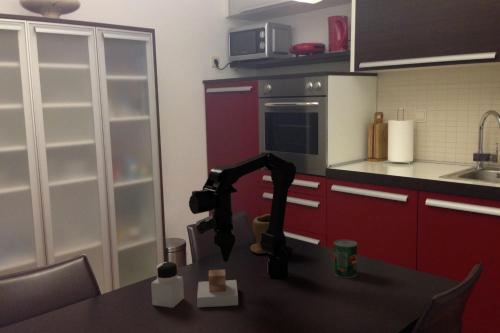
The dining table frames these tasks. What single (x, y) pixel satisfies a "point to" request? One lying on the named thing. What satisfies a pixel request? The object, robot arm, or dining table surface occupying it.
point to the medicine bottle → (167, 286)
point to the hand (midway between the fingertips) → (225, 256)
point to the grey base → (217, 295)
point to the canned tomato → (345, 258)
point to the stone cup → (260, 231)
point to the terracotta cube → (217, 281)
